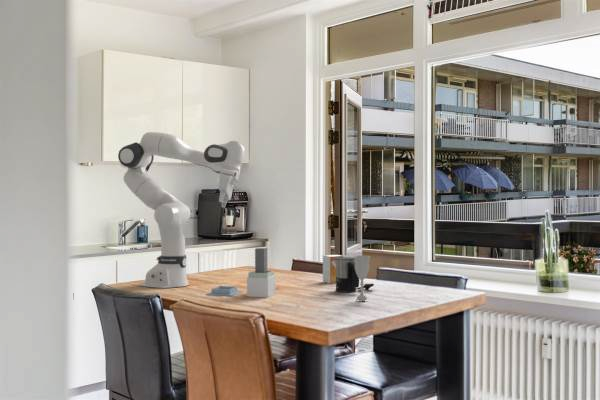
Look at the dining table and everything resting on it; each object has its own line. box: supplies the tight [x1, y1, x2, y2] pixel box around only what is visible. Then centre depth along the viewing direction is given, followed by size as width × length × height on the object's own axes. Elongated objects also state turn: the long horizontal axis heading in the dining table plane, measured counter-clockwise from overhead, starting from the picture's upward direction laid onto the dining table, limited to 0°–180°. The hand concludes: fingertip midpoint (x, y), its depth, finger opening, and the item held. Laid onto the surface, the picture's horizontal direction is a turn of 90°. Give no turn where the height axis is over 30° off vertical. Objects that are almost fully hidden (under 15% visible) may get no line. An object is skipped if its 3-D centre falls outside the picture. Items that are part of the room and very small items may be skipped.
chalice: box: [353, 255, 371, 301], centre depth 254 cm, size 7×7×18 cm
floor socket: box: [205, 285, 243, 297], centre depth 274 cm, size 12×12×2 cm
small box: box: [322, 254, 344, 284], centre depth 305 cm, size 8×6×13 cm
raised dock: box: [246, 269, 276, 298], centre depth 269 cm, size 10×10×10 cm
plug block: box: [254, 247, 268, 273], centre depth 269 cm, size 4×4×12 cm
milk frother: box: [334, 256, 375, 293], centre depth 280 cm, size 14×16×15 cm
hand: (221, 204), depth 284 cm, fingers open, 8 cm apart
